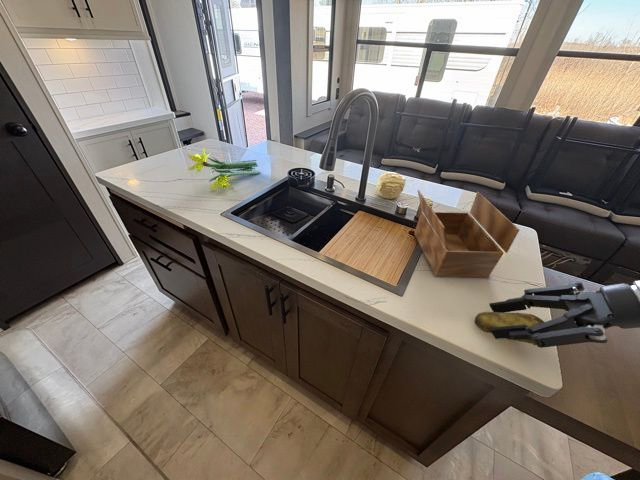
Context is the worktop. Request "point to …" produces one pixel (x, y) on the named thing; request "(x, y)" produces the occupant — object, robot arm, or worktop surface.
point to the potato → (506, 321)
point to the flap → (433, 219)
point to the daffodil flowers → (222, 165)
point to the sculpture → (390, 185)
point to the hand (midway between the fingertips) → (492, 320)
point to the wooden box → (467, 240)
